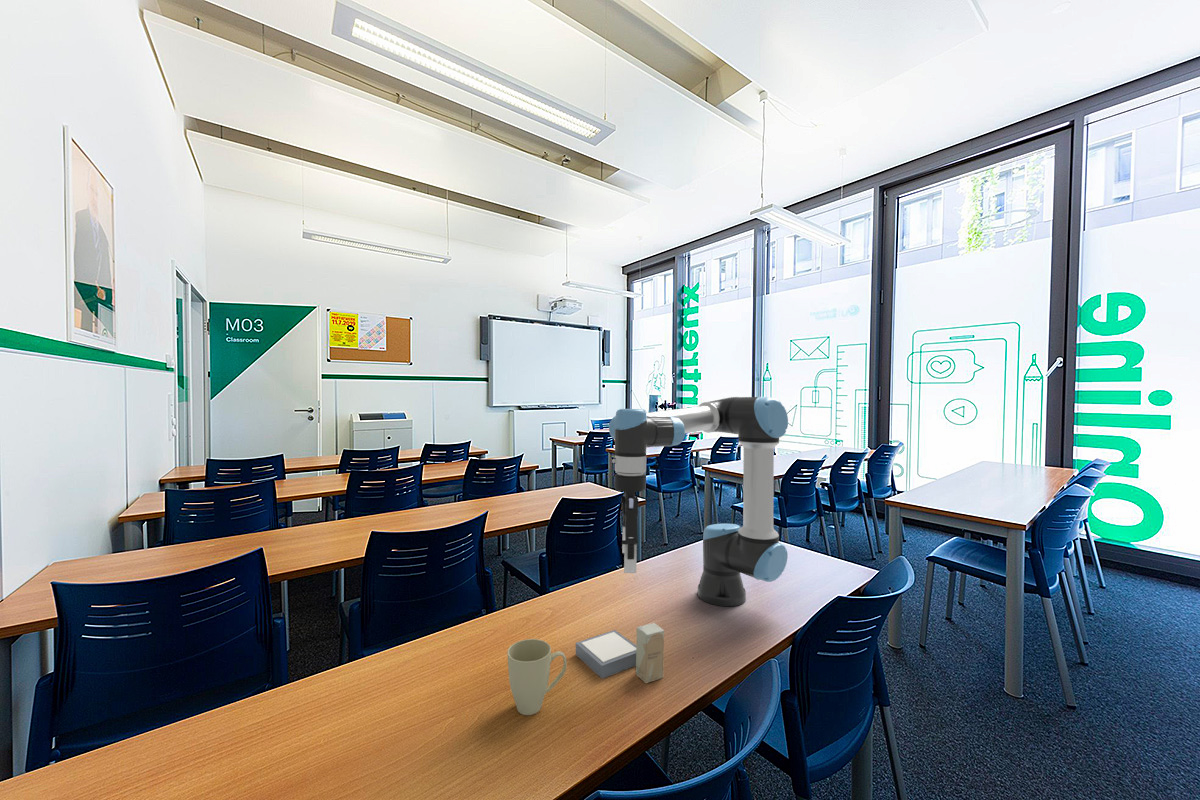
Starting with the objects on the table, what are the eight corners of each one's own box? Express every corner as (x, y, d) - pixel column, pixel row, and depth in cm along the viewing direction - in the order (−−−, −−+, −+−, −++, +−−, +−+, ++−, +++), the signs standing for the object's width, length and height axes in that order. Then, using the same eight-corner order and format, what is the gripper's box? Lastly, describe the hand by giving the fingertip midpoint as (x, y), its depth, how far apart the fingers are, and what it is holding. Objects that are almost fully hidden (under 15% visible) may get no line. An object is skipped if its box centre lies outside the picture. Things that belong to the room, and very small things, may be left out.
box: (645, 684, 105) (645, 635, 105) (635, 674, 109) (635, 626, 109) (664, 677, 108) (664, 629, 107) (654, 668, 111) (654, 621, 111)
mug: (535, 730, 90) (535, 668, 90) (498, 711, 96) (498, 653, 96) (568, 699, 100) (568, 643, 100) (532, 684, 105) (532, 631, 105)
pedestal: (614, 641, 124) (614, 629, 124) (643, 662, 114) (643, 649, 113) (575, 654, 117) (575, 642, 117) (601, 678, 107) (601, 665, 107)
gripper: (613, 465, 124) (612, 545, 124) (615, 482, 99) (613, 581, 99) (641, 466, 124) (640, 546, 124) (650, 482, 99) (649, 582, 99)
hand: (628, 562), depth 112 cm, fingers open, 13 cm apart
